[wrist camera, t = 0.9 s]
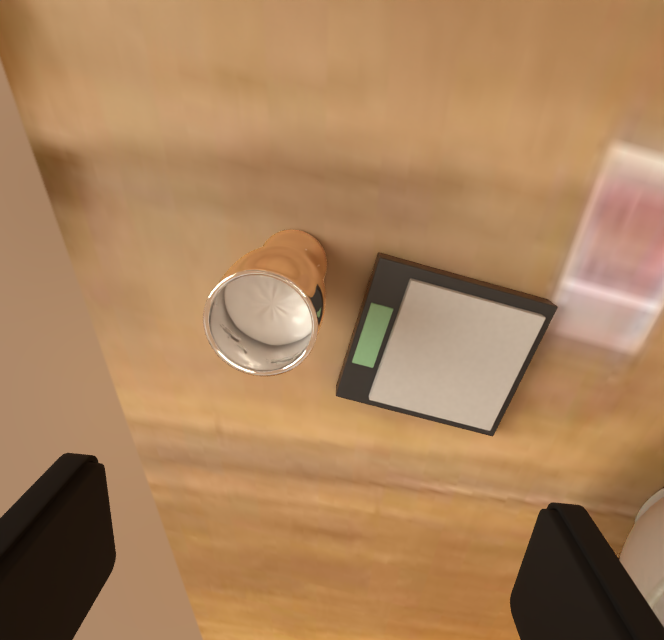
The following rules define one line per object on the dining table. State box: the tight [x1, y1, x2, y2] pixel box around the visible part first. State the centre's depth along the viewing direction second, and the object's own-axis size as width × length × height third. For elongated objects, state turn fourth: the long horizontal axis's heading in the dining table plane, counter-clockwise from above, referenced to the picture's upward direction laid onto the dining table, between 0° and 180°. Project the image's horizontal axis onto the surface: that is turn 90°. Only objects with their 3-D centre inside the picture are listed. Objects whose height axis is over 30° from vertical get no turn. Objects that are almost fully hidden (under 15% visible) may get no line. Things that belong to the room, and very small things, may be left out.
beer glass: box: [203, 229, 327, 376], centre depth 31 cm, size 7×7×15 cm
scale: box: [336, 253, 557, 436], centre depth 39 cm, size 16×14×3 cm
